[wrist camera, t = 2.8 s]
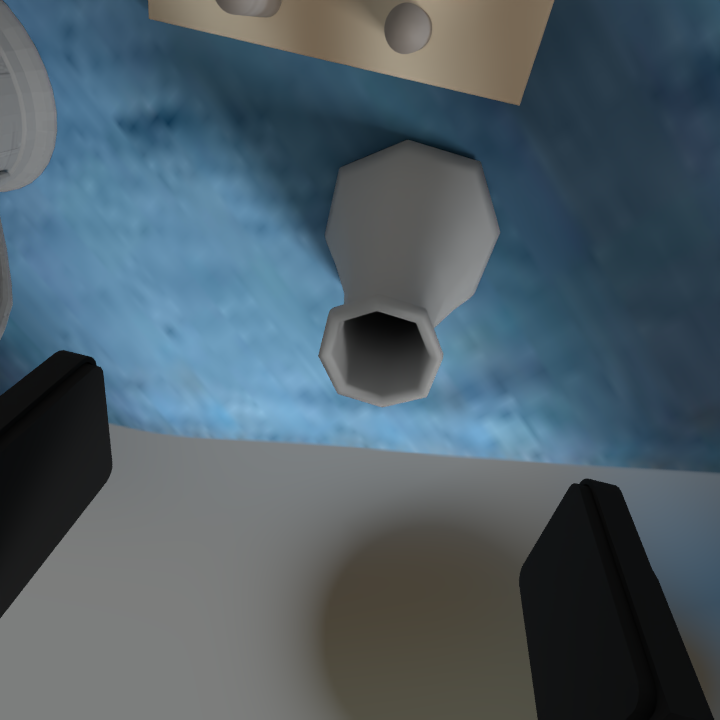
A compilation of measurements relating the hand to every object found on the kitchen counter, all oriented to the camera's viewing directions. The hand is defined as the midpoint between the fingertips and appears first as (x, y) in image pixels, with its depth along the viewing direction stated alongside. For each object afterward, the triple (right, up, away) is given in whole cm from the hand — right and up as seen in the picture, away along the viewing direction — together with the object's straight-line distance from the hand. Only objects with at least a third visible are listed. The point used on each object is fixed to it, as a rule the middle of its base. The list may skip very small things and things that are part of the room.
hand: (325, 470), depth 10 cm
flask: (+3, +8, +11) cm, 14 cm away
